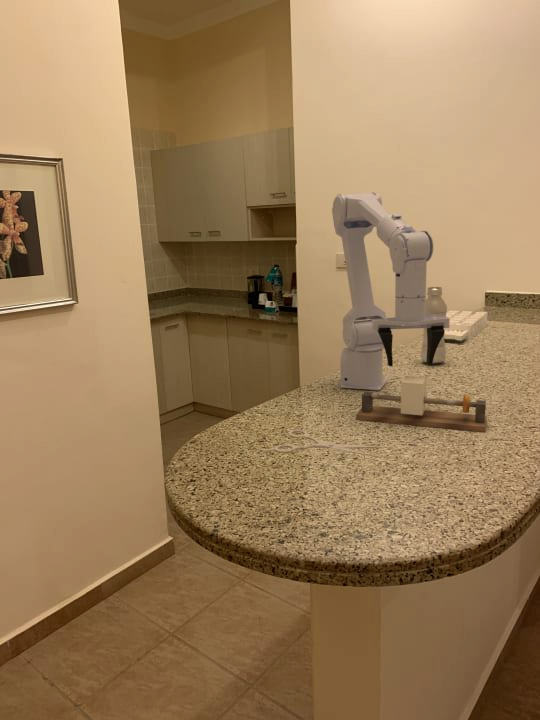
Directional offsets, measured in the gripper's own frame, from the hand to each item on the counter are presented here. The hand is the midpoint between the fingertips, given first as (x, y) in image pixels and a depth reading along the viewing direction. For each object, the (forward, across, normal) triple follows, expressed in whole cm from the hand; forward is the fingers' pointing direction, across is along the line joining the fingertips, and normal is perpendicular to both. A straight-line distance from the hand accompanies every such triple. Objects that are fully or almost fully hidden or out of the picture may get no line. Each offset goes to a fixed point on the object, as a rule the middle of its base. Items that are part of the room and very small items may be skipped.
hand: (409, 364), depth 107 cm
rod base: (+10, +1, -6) cm, 11 cm away
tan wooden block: (+8, 0, -5) cm, 9 cm away
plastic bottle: (+10, +12, +37) cm, 40 cm away
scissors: (+10, -17, -18) cm, 26 cm away
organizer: (+10, +27, +75) cm, 81 cm away
